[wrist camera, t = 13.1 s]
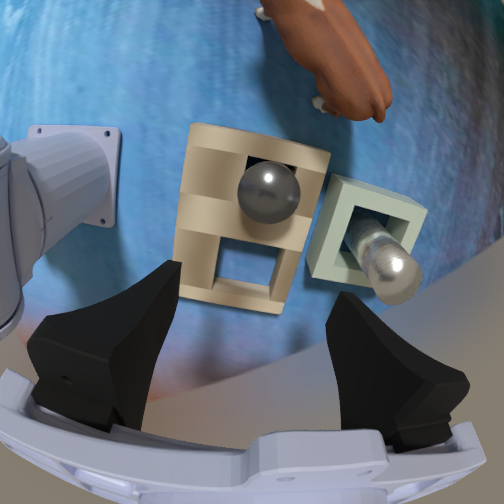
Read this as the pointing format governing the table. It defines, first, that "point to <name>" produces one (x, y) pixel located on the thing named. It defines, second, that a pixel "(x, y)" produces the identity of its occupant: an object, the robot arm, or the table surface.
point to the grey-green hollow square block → (337, 218)
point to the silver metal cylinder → (382, 259)
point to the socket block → (239, 214)
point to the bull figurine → (332, 56)
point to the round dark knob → (268, 192)
